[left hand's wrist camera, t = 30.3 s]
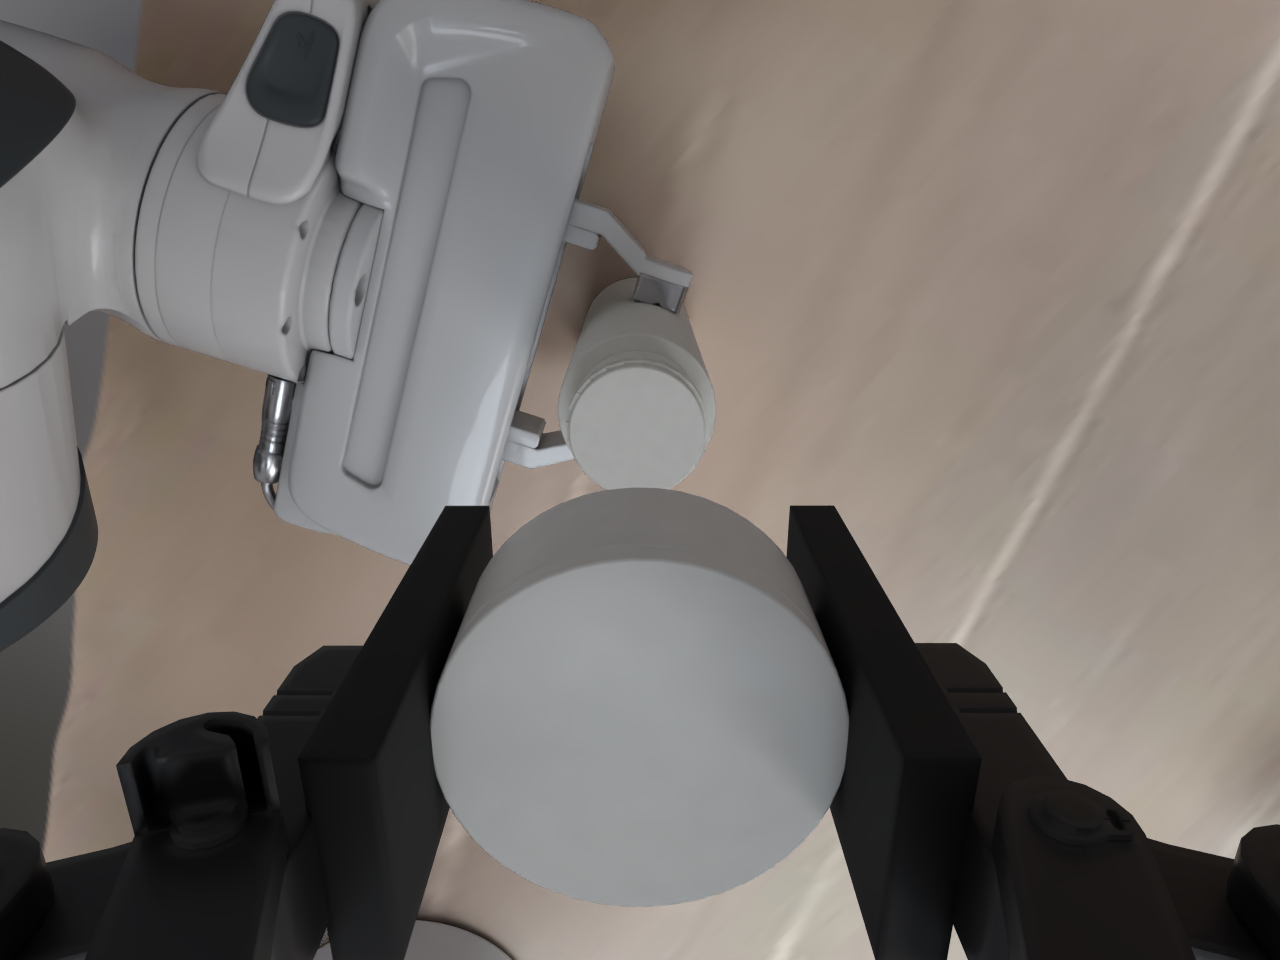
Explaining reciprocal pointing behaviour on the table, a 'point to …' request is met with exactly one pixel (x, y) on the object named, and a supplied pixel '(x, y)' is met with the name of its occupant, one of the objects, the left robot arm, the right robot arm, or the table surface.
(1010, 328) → the table surface
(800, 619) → the lid
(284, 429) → the right robot arm
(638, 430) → the grey bottle
